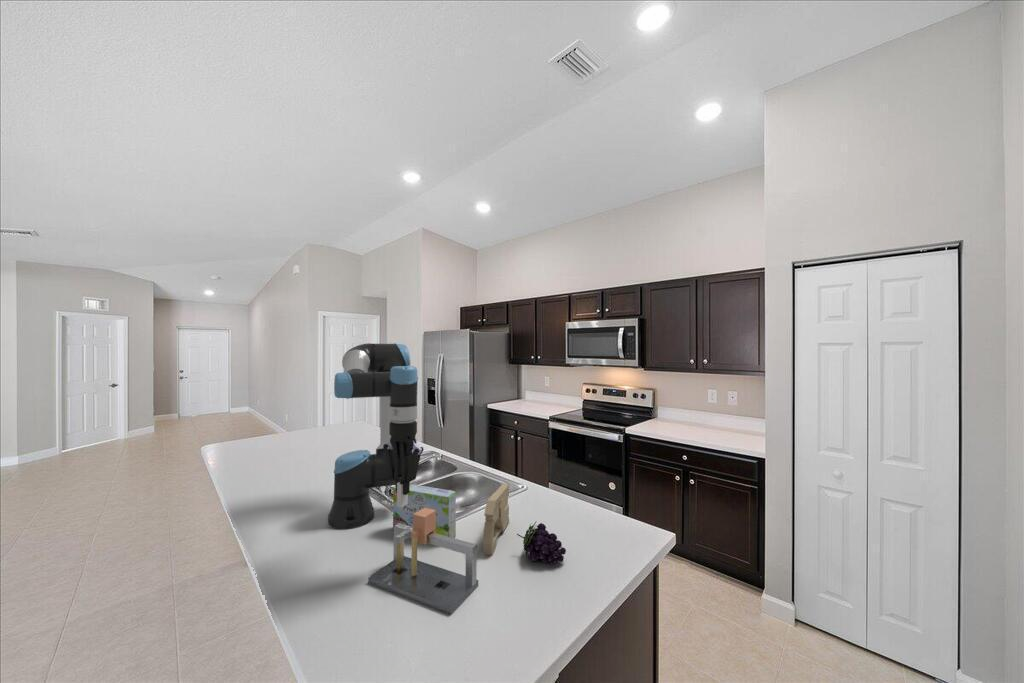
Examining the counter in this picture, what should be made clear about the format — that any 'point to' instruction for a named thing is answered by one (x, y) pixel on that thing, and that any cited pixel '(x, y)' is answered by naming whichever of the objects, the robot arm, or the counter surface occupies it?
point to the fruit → (542, 545)
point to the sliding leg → (421, 532)
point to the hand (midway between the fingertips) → (402, 505)
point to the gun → (495, 518)
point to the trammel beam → (442, 541)
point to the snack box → (428, 499)
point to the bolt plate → (424, 585)
